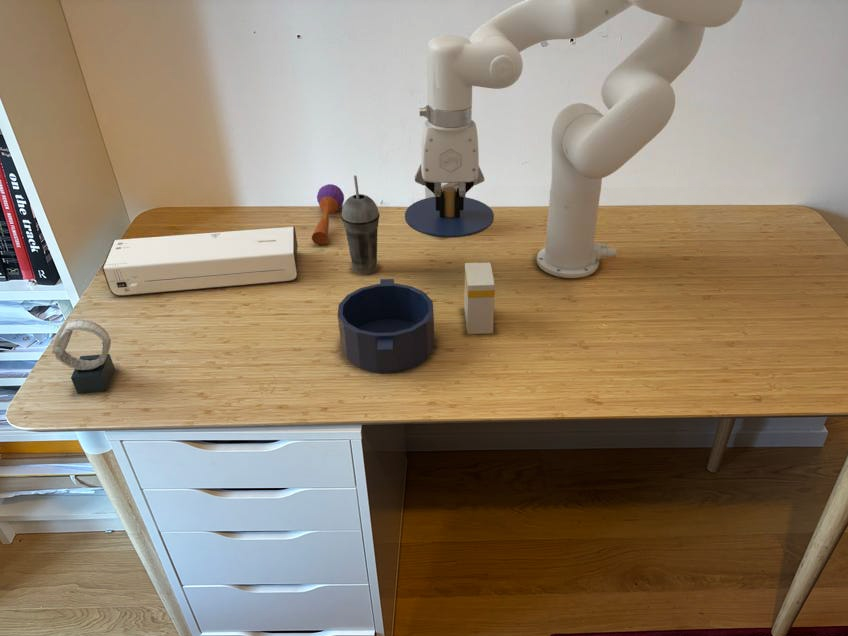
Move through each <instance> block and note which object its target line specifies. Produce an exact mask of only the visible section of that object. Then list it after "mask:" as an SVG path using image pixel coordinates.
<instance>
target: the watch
mask: <svg viewBox="0 0 848 636" xmlns="http://www.w3.org/2000/svg"><path fill="white" fill-rule="evenodd" d="M73 331H86V332H89V333H92V334H94V335H95V336H97V337H98V338H99V339H100V340H101V341H102V342H101V344H102V351H101V353H100V354H91V355H80V356H79V358H77V357H75V356H73V355H72V354H70V353H69V352H68V351H66V349H67V347H68V344H69V343H70V339H71V337H72V334H73ZM111 345H112V339H111V337H110V335H109V332H108V331H107V330H106V329H105V328H104V327H102V326H101V325H100V324H98V323H96V322H94V321H92V320H88V319H79V318H78V319H70V320H69V321H68V322H67V323H66V322H63V323H62V325H61V326H60V328H59V330H58V332H57V335H56V337H55V340H54V342H53V346H52V350H51V354H54V355H55V356H54V357H55V359H56V360H57V361H59V362H60V363H62V365H64V366H66V367H68V368H70V369H74V370H73V372H72V374H71V376H70V379H71V382H72V385H73V386H74V388H75V391H76V394H86V393H87V394H88V393H96V392H97V393H98V392H107V391H108V389H109V387H110V384H111V382H112V379H113V376H114V373H115V371H116V367H115V365H114V363H113V359H112V356H111V355H110V353H109V352H110V349H111Z"/></svg>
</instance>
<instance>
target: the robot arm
mask: <svg viewBox="0 0 848 636" xmlns="http://www.w3.org/2000/svg"><path fill="white" fill-rule="evenodd" d="M743 2H744V0H522V1H519V2H518V3H516V4H514V5H511V6H510V7H508V8H507V9H505V10H503V11H501V12H500V13H498V14H497V15H495V16H494V17H492V18H491V19H489V20H487V21H486V22H484V23H483V24H482V25H480V26H479V27H477V28H476V29H475V30H474V32H473V33H472V34H471V35H470V37H469V38H466V37H464V36H460V35H453V34H452V35H451V34H447V35H445V34H444V35H439V36H434V37H432V38H431V39H430V40H429V41H428V43H427V46H426V75H427V76H426V78H427V79H426V80H427V81H426V82H427V87H426V88H427V105H425V106H424V107H420V108H419V109H418V110H419V117H423V118H425V119H426V120H425V121H424V123H423V127H422V135H421V145H420V146H421V150H420V164H419V166H418V169H417V171H416V174H415V175H414V182H415V183H417V184H419V185H420V186H424V187H425V186H426V187H427V188H428V189H429V190H430V191H432V192H433V193H434V195H435V196H436V211H439V213H440V217H443V216H444V196H443V192H442V189H441V183H458V188H457V190H456V216H457V217H460V210H464V196H465V197H466V194H467V193H468V192H469V191H470V190H471V189H472V188H473V187H474V186H477V185H479V184H481V183H483V182H485V175H484V173H483V171H482V169H481V167H480V157H479V156H480V155H479V154H480V153H479V152H480V151H479V137H478V129H477V124H476V122H475V121H474V120H472V119H473V118H472V116H473V115H472V114H473V87H479V88H485V89H494V90H499V89H501V90H502V89H505V88H510V87H511V86H513V85H514V84H516V83H517V81H518V80H519V79H520V77H521V75H522V72H523V67H524V66H523V65H524V64H523V58H522V55H521V52H523V51H525V50H526V49H528V48H530V47H532V46H535V45H537V44H540V43H542V42H546V41H554V40H572V39H573V40H574V39H577V38H582V37H584V36H586V35H588V34H589V33H590V32H592V31H593V30H595V29H597V28H599V27H600V26H602V25H604V24H605V23H606V22H608V21H610V20H611V19H613V18H614V17H616V16H618V15H619V14H621V13H623V12H624V11H626V10H627V9H629V8H630V7H632V6H635V7H637V8H638V9H641V10H643V11H646V12H648V13H651V14H654V15H657V16H660V19H659V21H658V23H657V25H656V27H655V28H654V30H652V31H651V33H650V34H649V35H648V36H647V37H646V38H645V40H644V41H643V42H642V43H640V45H638V47H636V48H635V49H634V50H633V51H632V52H631V53H630V54H629V55H628V56H627V57H626V58H625V59H623V61H622V62H620V63H619V64H618V65H617V66H616V67H615V68H614V69H613V70H611V72H610V73H609V74H608V75H607V76H606V78H605V79H604V81H603V82H602V84H601V89H600V96H601V99H602V102H603V104H604V105H605V107H606V109H608V110H607V111H606V112H605V113H604V114H603V113H601V112H600V111H599V110H598V109H596V108H595V107H594V106H592V105H589V104H587V103H584V102H583V103H582V102H580V103H579V102H577V103H572V104H570V105H567V106H565V107H564V108H563V109H561V110H560V112H559V113H558V115H557V116H556V117H555V119H554V122H553V125H552V129H551V134H550V135H551V137H550V139H551V140H550V143H551V144H550V145H551V148H550V149H551V179H550V189H549V201H548V211H547V212H548V213H547V224H546V235H545V236H546V237H545V245H544V246H545V247H543V248H541V249H540V250H539V252H538V253H537V255H536V265H538V267H539V269H541V270H542V271H543V272H545V273H547V274H549V275H551V276H554V277H558V278H564V279H580V278H585V277H587V276H590V275H592V274H594V273H595V272H596V271H597V270H598V268H599V264H600V259H601V258H616V257H617V248H616V247H608V243H606V242H603V243H601V242H600V243H596V242H595V235H596V227H597V220H598V213H599V205H600V198H601V192H602V184H603V179H604V178H606V177H608V176H610V175H612V174H614V173H616V172H617V171H618V170H619V169H621V168H622V167H623V166H625V164H626V163H627V162H629V160H631V159H632V158H633V157H634V156H636V155H637V154H638V153H639V152H640V151H641V150H642V149H643V148H644V147H645V146H646V145H648V144H649V143H650V142H651V141H652V140H653V139H654V138H655V137H657V135H659V134H660V133H661V131H663V130H664V128H665V127H666V126H667V124H668V123H669V122H670V120H671V118H672V116H673V113H674V111H675V107H676V95H675V90H674V89H673V87H672V85H671V84H672V83H673V82H674V81H675V80H676V79H677V78H678V77H679V76H680V75H681V74H683V72H684V71H685V70H686V69H687V68H688V67H689V65H691V63H692V62H693V60H694V59H695V58H696V56H697V55H698V53H699V51H700V48H701V45H702V42H703V39H704V35H705V30H706V28H711V29H712V28H718V27H721V26H723V25H726V24H727V23H729V22H731V20H732V19H734V18H735V17H736V16H737V14H738V13H739V11H740V10H741V7H742V5H743Z"/></svg>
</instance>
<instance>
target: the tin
mask: <svg viewBox="0 0 848 636" xmlns="http://www.w3.org/2000/svg"><path fill="white" fill-rule="evenodd" d="M379 282H380V283H376V284H372V285H368V286H363V287H360V288H358V289H356V290H354V291H352V292H350V293H348V294H347V295H345V296H344V298H343V299H342V300H341V301H340V302H339V304H338V309H337V323H338V330H339V331H338V332H339V338H340V347H341V351H342V353H343V355H344V357H345V359H346V360H347V361H348V362H349V363H350V364H351V365H353V366H355V367H356V368H358V369H360V370H363V371H367V372H372V373H378V374H391V373H399V372H404V371H407V370H411V369H413V368H415V367H417V366H419V365H421V364H422V363H424V362H425V361H426V360H427V359H428V358H429V357H430V356H431V354H432V353H433V350H434V347H435V321H434V320H435V316H434V312H435V311H434V301H433V300H432V299H431V298H430V296H428V294H427V293H426V292H425V291H422V290H421V289H419V288H416V287H414V286H412V285H406V284H402V283H395V279H394V278H380V279H379Z"/></svg>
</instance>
